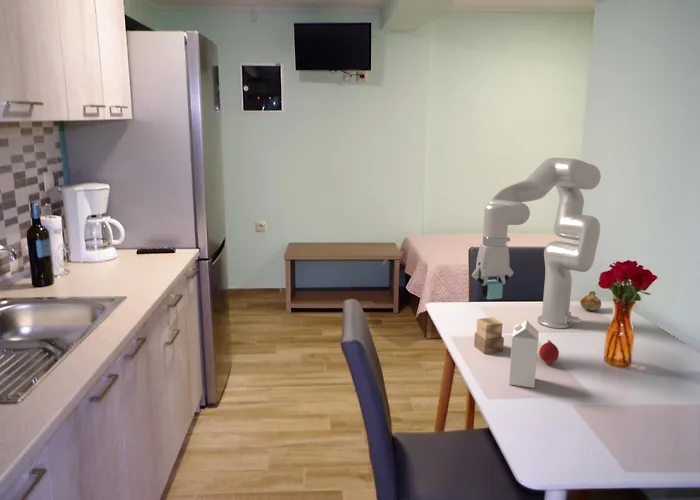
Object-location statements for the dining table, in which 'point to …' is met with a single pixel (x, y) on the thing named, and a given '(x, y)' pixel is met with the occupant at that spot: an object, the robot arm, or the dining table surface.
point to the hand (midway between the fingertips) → (491, 295)
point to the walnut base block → (488, 344)
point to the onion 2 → (590, 302)
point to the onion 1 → (549, 352)
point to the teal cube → (494, 289)
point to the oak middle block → (489, 328)
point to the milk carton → (523, 355)
